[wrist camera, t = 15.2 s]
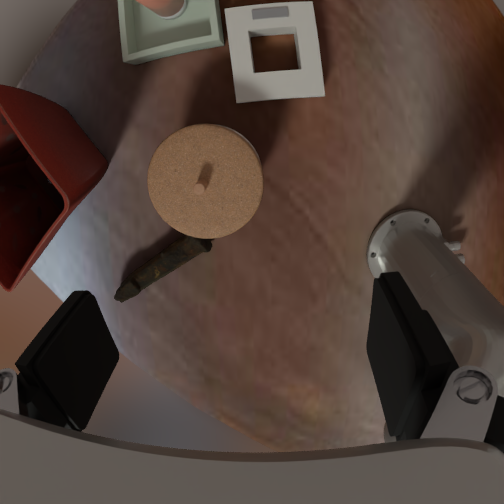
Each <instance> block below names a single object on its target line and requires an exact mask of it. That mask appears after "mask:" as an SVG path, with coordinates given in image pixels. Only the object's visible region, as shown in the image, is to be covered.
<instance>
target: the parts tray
mask: <svg viewBox="0 0 504 504" xmlns="http://www.w3.org/2000/svg"><path fill="white" fill-rule="evenodd" d="M118 12H119V25H120V37H121V47H122V57H123V62H124V63H129V64H134V65H137V64H141V63H144V62H148V61H152V60H156V59H160V58H164V57H168V56H173V55H177V54H182V53H186V52H191V51H196V50H202V49H207V48H213V47H219V46H224V38H223V30H222V22H221V14H220V6H219V0H187V9H186V11H185V12H184V13H183V14H182V15H181V16H180V17H178V18H176V19H173V20H165V19H162V18H161V17H159V16H158V15H157V14H155V13H154V12H153V11H151V10H150V9H148V8H147V7H145V6H143V5H142V4H140V3H139V2H137V1H136V0H118Z"/></svg>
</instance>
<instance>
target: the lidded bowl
mask: <svg viewBox="0 0 504 504" xmlns="http://www.w3.org/2000/svg"><path fill="white" fill-rule="evenodd" d="M147 183H148V191H149V195H150V198H151V201H152V203H153V205H154V207H155V209H156V210H157V212H158V214H159V215H160V216H161V217H162V218H163V220H164V221H165V222H167V223H168V224H169V225H170V226H171V227H173V228H174V229H176V230H177V231H179V232H181V233H183V234H186V235H189V236H192V237H196V238H203V239H212V238H219V237H223V236H226V235H229V234H231V233H233V232H235V231H237V230H239V229H240V228H242V227H243V226H244V225H245V224H246V223H247V222H248V221H249V220H250V219H251V218H252V217H253V215H254V214H255V213H256V211H257V209H258V207H259V205H260V202H261V199H262V195H263V189H264V175H263V170H262V165H261V161H260V159H259V156H258V154H257V152H256V150H255V148H254V147H253V146H252V144H251V143H250V142H249V141H248V140H247V139H246V138H245V137H244V136H243V135H241V134H240V133H238V132H237V131H235V130H233V129H231V128H229V127H226V126H222V125H217V124H196V125H191V126H187V127H184V128H182V129H180V130H177V131H176V132H174V133H172V134H171V135H169V136H168V137H167V138H166V139H165V140H164V141H163V142H162V143H161V144H160V145H159V146H158V148H157V149H156V151H155V153H154V154H153V156H152V159H151V161H150V164H149V169H148V177H147Z"/></svg>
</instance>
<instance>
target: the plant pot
mask: <svg viewBox="0 0 504 504" xmlns="http://www.w3.org/2000/svg"><path fill="white" fill-rule="evenodd" d="M107 169H108V162H107V160H106V159H105V158H104V156H103V155H102V154H101V153H100V152H99V150H98V149H97V148H96V146H95V145H94V144H93V143H92V141H91V140H90V139H89V138H88V137H87V135H86V134H85V133H84V132H83V130H82V129H81V128H80V126H79V125H78V124H77V123H76V121H75V120H74V119H73V118H72V116H71V115H70V114H69V112H68V111H67V110H66V109H65V108H63V107H62V106H60V105H59V104H57V103H55V102H53V101H51V100H48V99H46V98H44V97H42V96H39V95H37V94H34V93H31V92H29V91H26V90H22V89H19V88H15V87H11V86H5V85H0V285H1V286H2V287H3V288H4V289H5V290H6V291H8V292H11V291H13V289H14V288H15V287H16V286H17V285H18V283H19V282H20V281H21V280H22V278H23V277H24V276H25V274H26V273H27V272H28V271H29V269H30V268H31V267H32V266H33V264H34V263H35V262H36V260H37V259H38V258H39V256H40V255H41V254H42V252H43V251H44V250H45V248H46V247H47V246H48V244H49V243H50V241H51V240H52V239H53V237H54V236H55V234H56V233H57V232H58V230H59V229H60V227H61V226H62V225H63V223H64V222H65V220H66V219H67V218H68V216H69V215H70V214H71V213H72V212H73V210H74V209H75V208H76V207H77V206H78V205H79V204H80V203H81V201H82V200H83V199H84V198H85V197H86V196H87V195H88V194H89V193H90V192H91V190H92V189H93V188H94V187H95V186H96V185H97V184H98V183H99V181H100V180H101V179H102V177H103V176H104V174H105V173H106V171H107ZM47 177H48V179H49V180H50V181H51V182H52V184H49V183H48V182H47Z"/></svg>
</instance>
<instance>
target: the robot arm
mask: <svg viewBox="0 0 504 504" xmlns="http://www.w3.org/2000/svg"><path fill="white" fill-rule="evenodd" d="M391 221H392V222H391ZM451 250H452V251H455V250H460V242H459V241H451V242H447V241H446V240H445V239H444V238H443V236H442V232H441V230H440V227H439V226H438V224H437V223H436V221H435V220H434V219H433V218H432V217H430V216H429V215H428V214H426V213H424V212H422V211H419V210H413V209H410V210H402V211H398V212H396V213H394V214H392V215H390V216H388V217H387V218H385V219H384V220H383V221H382V222H381V223H380V224H379V225H378V226H377V227H376V229H375V230H374V232H373V233H372V235H371V237H370V239H369V243H368V246H367V262H368V266H369V269H370V270H371V272H372V274H373V276H374V277H375V279H374V285H373V295H372V305H371V314H370V322H369V330H368V337H367V354H368V358H369V361H370V365H371V368H372V371H373V375H374V379H375V382H376V386H377V389H378V393H379V397H380V400H381V404H382V408H383V412H384V416H385V420H386V422H385V426H384V441H385V443H379V444H371V445H364V446H357V447H348V448H338V449H327V450H314V451H298V452H274V453H240V452H214V451H198V450H187V449H176V448H168V447H160V446H152V445H145V444H139V443H133V442H126V441H120V440H116V439H111V438H105V437H101V436H96V435H92V434H87V433H83V432H81V431H82V430H83V429H85V428H86V426H87V424H88V422H89V420H90V418H91V415H92V413H93V411H94V409H95V407H96V405H97V403H98V401H99V399H100V397H101V394H102V392H103V390H104V388H105V386H106V384H107V382H108V380H109V378H110V376H111V374H112V372H113V370H114V368H115V366H116V364H117V362H118V360H119V352H118V349H117V347H116V345H115V343H114V340H113V338H112V336H111V334H110V331H109V329H108V327H107V325H106V322H105V320H104V318H103V315H102V313H101V310H100V308H99V305H98V303H97V300H96V298H95V296H94V295H92V294H91V293H90V292H89V291H74V292H72V293H71V295H70V296H69V297H68V298H67V299H66V300H65V302H64V303H63V304H62V305H61V306H60V307H59V309H58V310H57V311H56V312H55V314H54V315H53V316H52V317H51V318H50V319H49V321H48V322H47V323H46V324H45V326H44V327H43V328H42V329H41V330H40V332H39V333H38V334H37V336H36V337H35V338H34V339H33V340H32V342H31V343H30V344H29V346H28V347H27V348H26V349H25V351H24V352H23V354H22V355H21V356H20V357H19V359H18V360H17V362H16V363H15V365H16V367H17V368H18V370H19V371H20V373H19V375H17V374H16V372H15V371H14V370H13V369H10V368H7V369H6V368H5V369H3V370H0V504H504V306H503V305H502V304H501V303H500V302H499V301H498V300H497V299H496V298H495V297H494V296H493V295H492V294H491V293H490V292H489V291H488V290H487V289H486V288H485V286H484V285H483V284H482V283H481V282H480V281H479V280H478V279H477V278H476V276H475V275H474V274H473V273H472V272H471V271H470V270H469V269H468V268H467V267H466V266H465V265H464V263H465V258H464V255H463V254H454V253H453V252H452V251H451ZM371 253H372V254H371Z"/></svg>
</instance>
